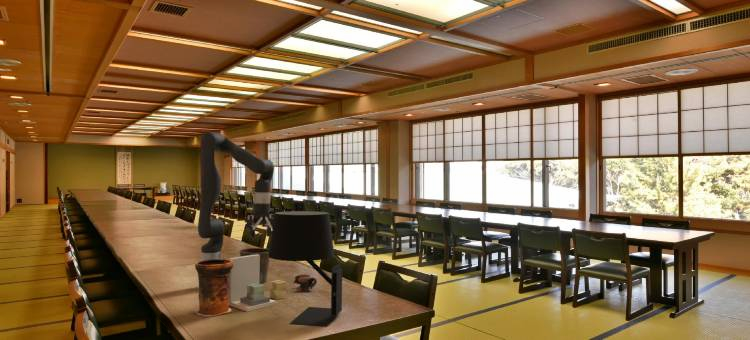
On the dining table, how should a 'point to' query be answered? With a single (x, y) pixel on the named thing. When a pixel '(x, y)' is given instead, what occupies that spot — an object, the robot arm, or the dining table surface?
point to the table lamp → (308, 256)
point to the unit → (245, 283)
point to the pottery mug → (305, 282)
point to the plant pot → (263, 260)
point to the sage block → (255, 291)
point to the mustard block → (278, 289)
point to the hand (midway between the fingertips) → (260, 237)
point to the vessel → (213, 286)
